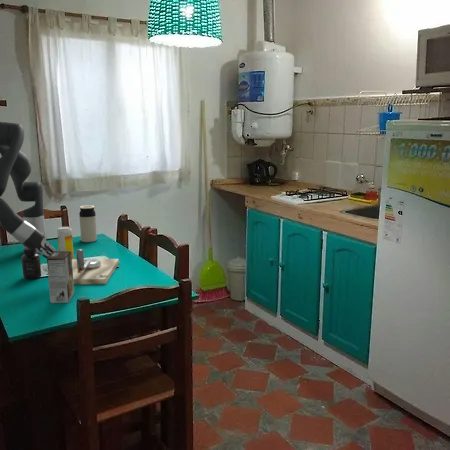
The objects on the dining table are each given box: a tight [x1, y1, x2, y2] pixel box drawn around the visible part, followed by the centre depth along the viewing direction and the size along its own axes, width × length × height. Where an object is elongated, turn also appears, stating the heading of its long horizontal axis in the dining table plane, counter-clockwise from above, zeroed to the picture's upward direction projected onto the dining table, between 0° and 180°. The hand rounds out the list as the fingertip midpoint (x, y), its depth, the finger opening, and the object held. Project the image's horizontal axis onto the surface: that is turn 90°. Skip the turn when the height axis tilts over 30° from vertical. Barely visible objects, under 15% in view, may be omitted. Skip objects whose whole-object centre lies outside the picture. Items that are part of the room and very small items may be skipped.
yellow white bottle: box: [57, 226, 75, 259], centre depth 210 cm, size 6×6×15 cm
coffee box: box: [46, 250, 75, 304], centre depth 166 cm, size 9×6×16 cm
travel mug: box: [78, 204, 98, 243], centre depth 245 cm, size 8×8×18 cm
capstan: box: [75, 248, 101, 273], centre depth 190 cm, size 21×9×10 cm, turn 2°
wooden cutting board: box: [72, 258, 120, 285], centre depth 194 cm, size 20×27×2 cm
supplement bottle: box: [20, 247, 42, 281], centre depth 188 cm, size 7×7×12 cm
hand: (65, 264), depth 182 cm, fingers closed
